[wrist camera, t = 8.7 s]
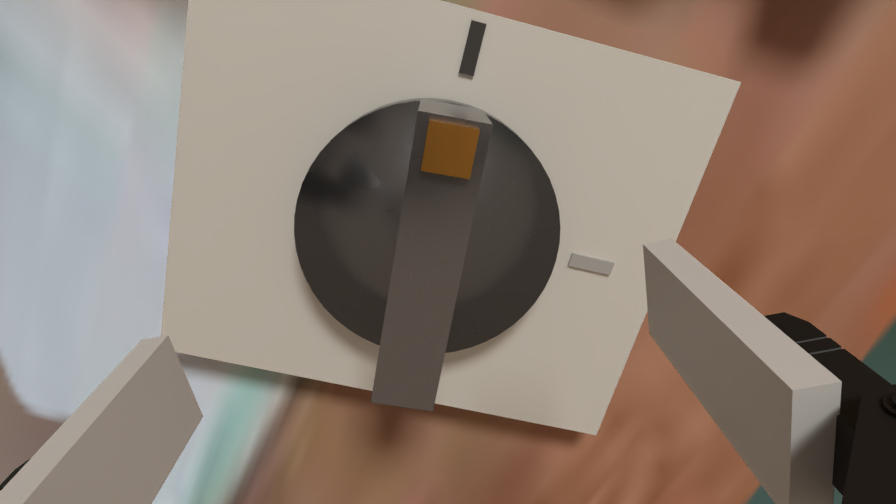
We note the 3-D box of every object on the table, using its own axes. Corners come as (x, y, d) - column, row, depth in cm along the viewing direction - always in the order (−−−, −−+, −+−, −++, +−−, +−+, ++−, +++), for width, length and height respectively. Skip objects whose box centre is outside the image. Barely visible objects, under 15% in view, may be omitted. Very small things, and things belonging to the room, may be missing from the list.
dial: (521, 353, 27) (543, 431, 22) (291, 318, 26) (253, 390, 21) (581, 124, 23) (625, 150, 18) (315, 74, 23) (276, 85, 17)
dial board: (177, 328, 29) (158, 350, 27) (214, -59, 23) (192, -68, 21) (586, 411, 31) (596, 437, 29) (718, 79, 25) (743, 82, 23)
